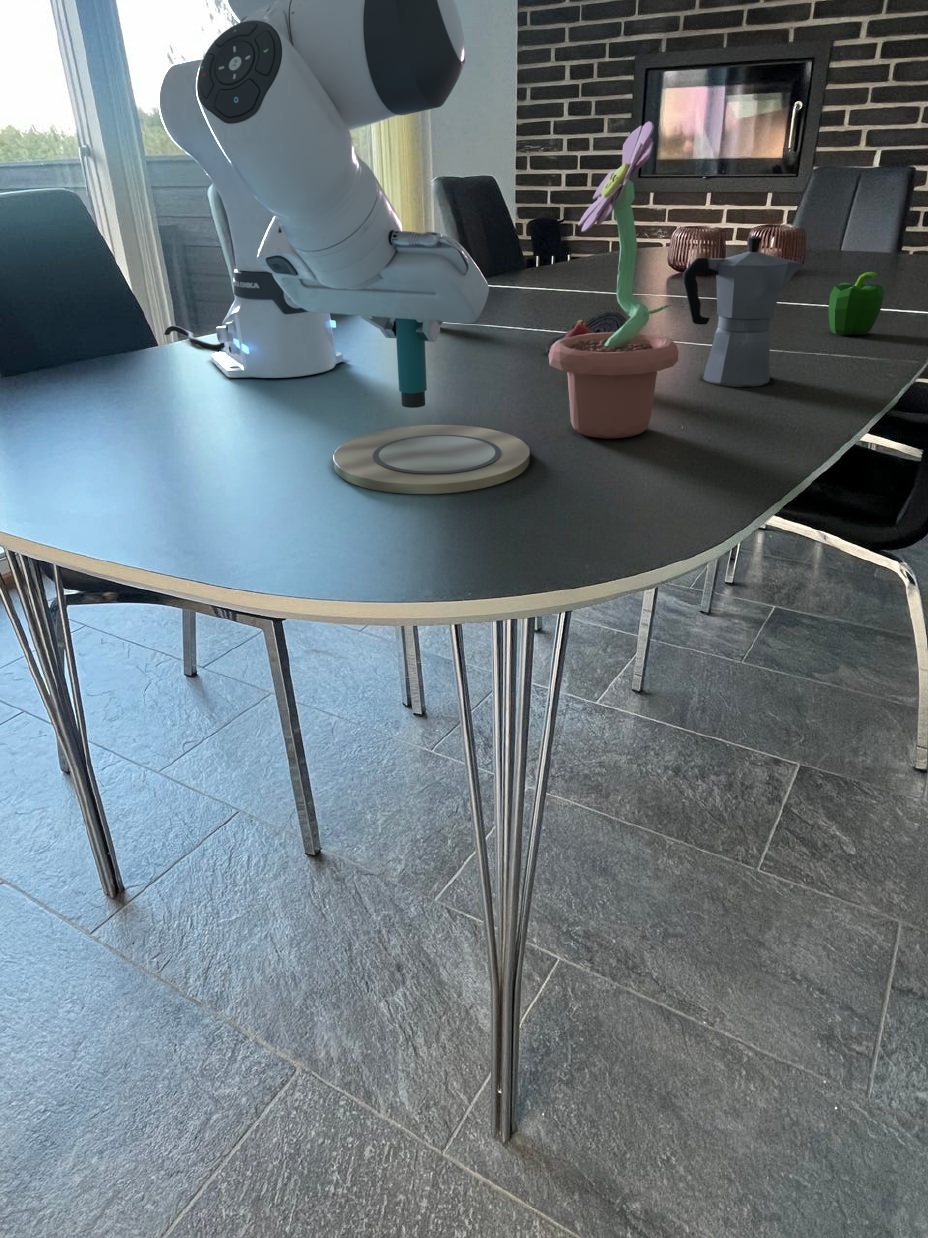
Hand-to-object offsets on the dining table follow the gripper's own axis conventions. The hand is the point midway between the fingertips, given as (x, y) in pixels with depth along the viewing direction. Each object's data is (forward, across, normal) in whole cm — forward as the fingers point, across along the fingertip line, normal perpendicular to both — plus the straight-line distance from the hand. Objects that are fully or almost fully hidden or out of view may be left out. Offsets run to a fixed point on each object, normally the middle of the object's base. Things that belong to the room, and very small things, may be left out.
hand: (413, 334), depth 83 cm
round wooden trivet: (+7, -3, +10) cm, 12 cm away
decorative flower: (+20, -15, -3) cm, 25 cm away
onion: (+36, -3, -18) cm, 40 cm away
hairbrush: (+54, +7, -37) cm, 66 cm away
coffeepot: (+42, -21, -25) cm, 53 cm away
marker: (+4, 0, +5) cm, 7 cm away
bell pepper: (+72, -31, -55) cm, 96 cm away
